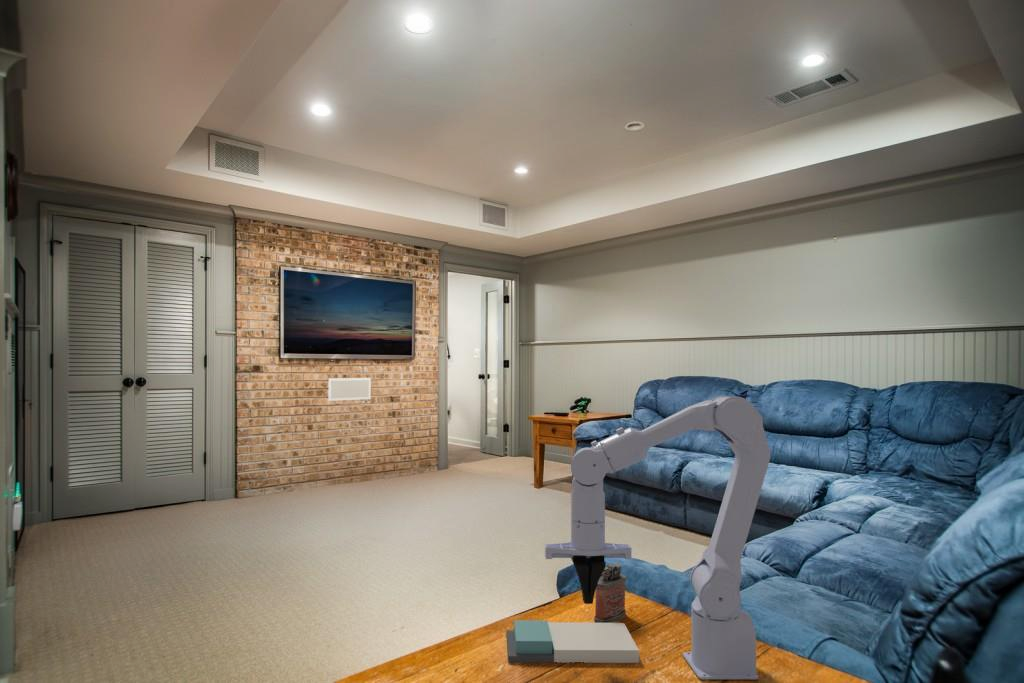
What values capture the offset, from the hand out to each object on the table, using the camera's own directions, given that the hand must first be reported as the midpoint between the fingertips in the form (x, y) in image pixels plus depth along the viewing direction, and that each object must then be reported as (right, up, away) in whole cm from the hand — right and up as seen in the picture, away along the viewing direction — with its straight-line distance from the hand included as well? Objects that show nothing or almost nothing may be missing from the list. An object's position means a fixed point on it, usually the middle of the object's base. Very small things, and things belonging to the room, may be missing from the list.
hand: (587, 601), depth 95 cm
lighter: (+6, -10, +15) cm, 19 cm away
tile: (-9, -8, +2) cm, 12 cm away
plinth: (+1, -9, +2) cm, 9 cm away
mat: (-10, -9, +1) cm, 13 cm away
